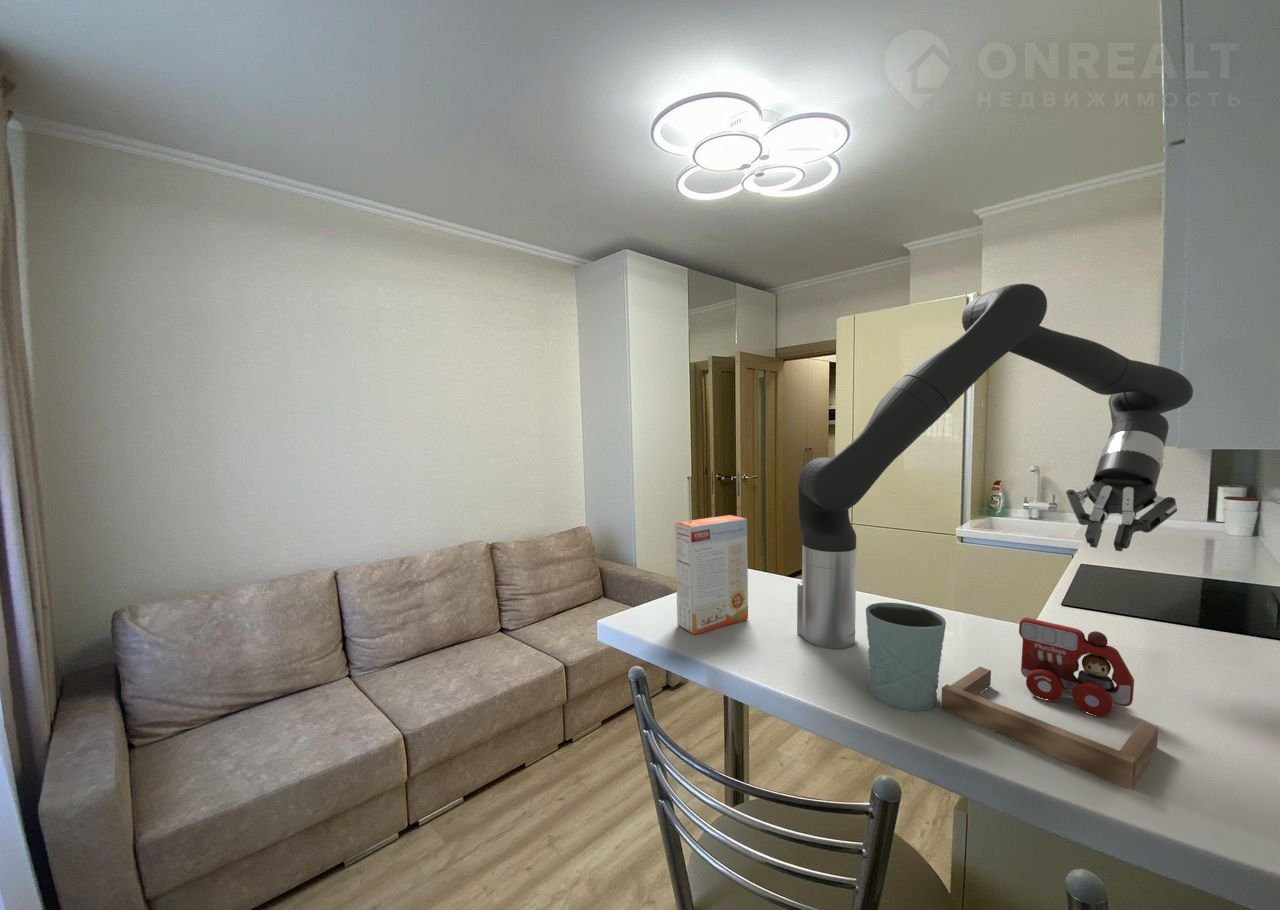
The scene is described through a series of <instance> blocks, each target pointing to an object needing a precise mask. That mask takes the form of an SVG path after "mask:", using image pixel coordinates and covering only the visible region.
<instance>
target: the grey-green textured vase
mask: <svg viewBox="0 0 1280 910" xmlns="http://www.w3.org/2000/svg"><path fill="white" fill-rule="evenodd" d="M865 617H866V618H865V619H866V627H867V628H866V629H867V630H866V631H867V633H866V635H867V640H868V646H869V647H868V652H867V653H868V663H869V664H868V666H869V670H868V671H869V689H870V692H871V694H872V695H873V696H874V697H875V698H876V699H877V700H879V701H880V702H881V703H883V704H885V705H887V706H890V707H893V708H896V709H900V710H904V711H909V712H923V711H924V712H925V711H928V710H931V709H933V708H934V707H935V705H936V703H937V697H938V696H937V695H938V692H937V690H938V688H939V687H938V686H939V682H940V681H939V676H940V675H939V672H940V665H941V660H942V659H941V658H942V651H943V643H944V640H945V639H944V638H945V632H946V627H947V626H946V625H947V622H946V619H945V617H944V616H942V615H941V614H939V613H938V612H935V611H933V610H931V609H928V608H925V607H921V606H918V605H913V604H907V603H899V602H876V603H872V604H869V605H868V606H867V607H866V608H865Z"/></svg>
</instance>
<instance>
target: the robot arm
mask: <svg viewBox="0 0 1280 910" xmlns="http://www.w3.org/2000/svg"><path fill="white" fill-rule="evenodd" d="M1047 309H1048V300H1047V296H1046V293H1045V292H1044V290H1042V289H1041V288H1040V287H1039V286H1036V285H1034V284H1030V283H1015V284H1008V285H1006V286H1005V285H1004V286H1003V287H999V288H997V289H994V290H991V291H987V292H986V293H983V294H980V295H979V296H976V297H975V298H973V299H972V300H970V301H969V302H968V303H967V305H966V306H965V307H964V309H963V312H962V315H961V323H962V327H963V330H964V331H965V332H964V333H963V334H962V335H961V336H959V337H958V338H957V339H955V340H954V341H952V342H951V343H950V344H948V345H947V346H945V347H943V348H942V349H940V350H939V351H937V352H935V353H934V354H931V356H929V357H927V358H925V359H924V360H923V361H922V362H920V363H918V364H917V365H915V366H914V367H913V368H911V370H909V371H908V372H907V373H905V374H904V375H903V377H901V379H899V380H898V381H897V382H896V383H895V384H894V385H893V386H892V387H891V388H890V389H889V390H888V391H887V392H886V394H885V395H884V396H883V397H882V398H881V400H880V401H879V403H878V404H877V406H876V408H875V409H874V412H873V413H872V415H871V416H870V419H869V420H868V422H867V424H866V426H865V427H864V428H863V430H862V431H861V432H860V434H859V435H858V436H857V437H855V439H854V440H852V442H851V443H849V444H848V445H847V446H845V448H844V449H842V450H841V451H840V452H839V453H837V454H835V456H834V457H824V456H823V457H818V458H814V459H812V460H809V461H808V462H807V463H806V464H805V465H804V466H803V468H802V470H801V471H800V474H799V478H798V489H797V490H798V491H797V492H798V493H797V494H798V499H797V500H798V521H799V522H798V523H799V529H800V532H801V536H802V537H801V538H802V539H801V540H802V547H801V549H802V550H801V551H802V553H801V554H802V555H801V557H802V559H801V561H802V562H801V563H802V565H801V568H802V569H801V570H802V571H801V582H799V583H797V589H796V591H797V595H796V596H797V599H796V604H797V605H796V607H797V608H796V609H797V611H796V616H797V617H796V619H797V621H796V623H797V624H796V633H797V635H798V634H799V635H800V636H801V637H802V638H803V639H804V640H805V641H806V642H809V644H812V645H814V646H819V647H822V648H830V649H844V648H848V647H852V646H853V645H854V644H855V642H856V610H857V609H856V608H857V607H856V606H857V605H856V601H857V599H856V598H857V597H856V595H857V594H856V593H857V589H856V588H857V535H856V531H855V529H854V528H853V526H852V523H851V520H850V515H849V512H850V511H849V509H851V508H853V507H854V506H855V505H857V504H858V503H859V502H860V501H861V500H862V498H864V496H866V494H867V492H868V491H869V490H870V489H871V488H872V486H873V485H874V484H875V483H876V481H877V480H878V479H879V478H880V477H881V475H882V474H883V473H884V472H885V471H886V470H887V468H888V467H890V465H891V464H892V463H893V462H894V461H895V460H896V459H897V458H899V456H900V455H902V453H904V451H906V450H907V449H908V448H909V447H910V446H911V445H912V444H914V442H916V440H918V438H919V437H920V436H921V435H922V434H924V433H925V432H926V431H927V430H928V429H929V428H930V427H931V426H932V425H933V424H934V423H936V422H937V421H938V420H939V419H940V418H941V417H942V416H944V414H945V413H946V412H947V411H948V410H949V409H950V408H951V407H952V406H953V405H954V403H955V402H956V401H958V399H959V398H960V397H962V395H964V394H965V392H967V391H968V390H969V388H971V387H972V386H973V385H974V384H975V383H976V382H977V381H978V380H979V379H980V378H981V376H983V375H984V374H985V373H986V372H987V371H988V370H989V369H990V368H991V367H992V366H993V365H994V364H995V363H997V362H998V361H999V360H1000V359H1001V358H1003V357H1004V356H1005V355H1006V354H1007V353H1011V354H1015V355H1016V356H1020V357H1022V358H1025V359H1027V360H1029V361H1033V362H1035V364H1036V363H1037V364H1039V365H1042V366H1043V367H1046V368H1048V369H1050V370H1053V371H1054V372H1056V373H1058V374H1061V375H1062V376H1064V377H1067V378H1068V379H1070V380H1072V381H1074V382H1076V383H1077V384H1079V385H1080V386H1083V387H1084V388H1086V389H1088V390H1091V391H1092V392H1094V393H1096V394H1099V395H1103V396H1109V398H1108V406H1109V411H1110V418H1111V425H1112V427H1111V429H1110V432H1109V436H1108V438H1107V441H1106V443H1105V444H1104V446H1103V448H1102V451H1101V454H1100V457H1099V460H1098V464H1097V466H1096V470H1095V473H1094V475H1093V479H1092V482H1091V483H1090V484H1089V485H1088V486H1087V487H1086V488H1085V489H1084V490H1079V491H1075V490H1074V489H1068V490H1067V491H1066V492H1065V493H1066V496H1067V498H1068V499H1067V500H1068V503H1069V505H1070V507H1071V508H1072V510H1073V512H1074V515H1075V517H1076V519H1077V521H1078V523H1079V525H1083V526H1087V527H1086V531H1085V532H1084V533H1085V534H1084V537H1085V539H1086V544H1089V547H1091V548H1095V549H1097V548H1098V546H1099V543H1100V539H1101V536H1102V532H1103V530H1102V529H1103V526H1104V525H1105V522H1106V521H1107V520H1108V519H1109V517H1110V515H1112V514H1119V515H1121V516H1122V517H1121V524H1118V526H1117V531H1116V534H1115V537H1114V542H1113V546H1114V549H1115V551H1117V552H1123V550H1124V549H1126V550H1127V549H1128V548H1129V547H1130V545H1131V542H1132V538H1133V534H1134V533H1136V532H1142V533H1147V534H1148V533H1151V532H1152V531H1154V529H1157V527H1159V526H1160V525H1162V523H1164V522H1165V521H1166V520H1168V519H1169V518H1170V517H1172V516H1173V515H1174V514H1175V513H1177V512H1178V508H1177V502H1176V498H1174V497H1172V496H1167V497H1162V496H1159V495H1158V492H1157V490H1156V489H1157V484H1158V480H1159V477H1160V473H1161V470H1162V468H1163V465H1164V463H1163V461H1164V457H1165V456H1164V455H1165V451H1164V449H1165V445H1166V441H1167V437H1168V433H1169V427H1170V425H1169V421H1168V419H1167V418H1166V417H1165V416H1164V415H1162V414H1164V413H1167V412H1170V411H1172V410H1173V411H1174V410H1176V409H1178V408H1181V407H1183V406H1186V405H1187V404H1188V403H1189V402H1190V401H1191V400H1192V399H1193V395H1194V389H1193V386H1192V384H1191V382H1190V381H1189V380H1188V378H1187V377H1186V376H1184V375H1183V374H1181V373H1179V372H1178V371H1176V370H1173V369H1171V368H1168V367H1164V366H1160V365H1156V364H1153V363H1147V362H1143V361H1138V360H1133V359H1129V358H1127V357H1126V356H1124V355H1122V354H1120V353H1119V352H1117V351H1114V350H1113V349H1111V348H1110V347H1107V346H1105V345H1103V344H1102V343H1098V342H1097V341H1094V340H1091V339H1086V338H1083V337H1079V336H1076V335H1072V334H1068V333H1064V332H1060V331H1056V330H1053V329H1049V328H1047V327H1044V326H1041V324H1042V322H1043V320H1044V318H1045V316H1046V314H1047ZM1087 499H1089V500H1090V501H1091V502H1092V503H1093V509H1092V511H1091V512H1090V514H1089V513H1086V511H1085V508H1084V504H1086V500H1087ZM1151 505H1153V506H1152V508H1151V509H1149V510H1148V511H1147V512H1145V513H1144V514H1143V515H1141V516H1140V517H1139V518H1137V515H1138V514H1137V513H1140V512H1141V511H1143V510H1145V509H1147V508H1148V507H1149V506H1151Z"/></svg>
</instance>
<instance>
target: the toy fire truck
mask: <svg viewBox="0 0 1280 910" xmlns="http://www.w3.org/2000/svg"><path fill="white" fill-rule="evenodd" d="M1018 634H1019V636H1020V637H1021V639H1022V645H1021V663H1020V665H1021V666H1020V671H1021V674H1022V676H1023V677H1025V678H1026V679H1025V684H1026V687H1027V689H1028V691H1029V692H1030V693H1031V694H1032V695H1033V696H1034V695H1035V696H1034V697H1036V696H1038V697H1040V698H1043V699H1048V700H1051V701H1050V702H1055V701H1057V700H1059V699H1060V698H1061V697H1062V695H1063V693H1064V690H1067V691H1070V692H1072V693H1071V694H1072V701H1073V702H1074V704H1075V705H1076V707H1077V708H1078V709H1080V710H1081V711H1082V712H1083V711H1085V712H1088V713H1090V714H1093V715H1096V716H1095V717H1105V716H1108V715H1109V714H1111V712H1112V710H1113V706H1114V705H1118V706H1122V707H1129V706H1131V705H1132V704H1133V701H1134V687H1135V678H1134V677H1133V675H1132V674H1131V671H1130V670H1129V668H1128V666H1127V664H1126V663H1125V660H1124V659H1123V657H1122V655H1121V654H1120V652H1119V651H1118V649H1116V648H1115V647H1114V646H1112V645H1111V646H1110V645H1108V638H1107V635H1106V634H1104V633H1102V632H1101V631H1095V630H1094V631H1091V632H1089V633H1088V635H1087V638H1086V635H1085V633H1084V632H1083V631H1082V630H1081V629H1078V628H1074V627H1071V626H1066V625H1061V624H1057V623H1052V622H1048V621H1043V620H1039V619H1035V618H1031V617H1023V618H1022V619H1020V621H1019V625H1018ZM1081 657H1082V659H1081V666H1082V668H1083V669H1082V670H1079V669H1080V664H1079V660H1080V658H1081ZM1111 669H1113V671H1112V675H1111V677H1110V676H1109V674H1110V673H1111ZM1075 672H1078V676H1077V677H1076V675H1075ZM1085 712H1084V713H1085ZM1090 714H1089V715H1090ZM1093 715H1092V716H1093Z"/></svg>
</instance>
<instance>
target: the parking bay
mask: <svg viewBox="0 0 1280 910" xmlns="http://www.w3.org/2000/svg"><path fill="white" fill-rule="evenodd" d="M991 680H992V670H991V669H989V668H986V667H983V666H978V667H977V668H975V669H973V670H972V671H970V672H969V673H967V674H966V675H964V676H963V677H960V678H959V679H958V680H957V681H955V682H952V684H945V685H944V686H942V687H941V710H943V711H946V712H948V713H951V714H953V715H956V716H958V717H960V718H963V719H964V718H965V719H964V720H967V721H970V722H971V721H972V723H974V724H976V723H977V724H976V725H978V724H979V726H981V727H983V726H984V727H983V728H985V727H986V728H985V729H988V730H990V729H991V731H992V730H994V731H993V732H995V733H997V732H998V733H997V734H999V733H1000V735H1002V734H1003V735H1002V736H1004V737H1007V738H1009V737H1010V738H1009V739H1011V738H1013V739H1012V740H1014V741H1016V740H1017V741H1016V742H1018V741H1019V742H1018V743H1021V744H1023V745H1025V746H1028V747H1030V748H1033V749H1034V750H1037V751H1038V752H1039V751H1040V752H1041V753H1044V754H1046V755H1049V756H1051V757H1053V758H1056V759H1058V760H1061V761H1062V762H1065V763H1068V764H1070V765H1072V766H1075V767H1076V768H1079V769H1082V770H1083V771H1086V772H1088V773H1091V774H1093V775H1095V776H1098V777H1100V778H1102V779H1105V780H1107V781H1110V782H1111V783H1114V784H1117V785H1119V786H1121V787H1123V788H1126V789H1128V790H1132V789H1133V787H1134V786H1135V784H1136V782H1137V780H1138V779H1139V778H1140V776H1141V774H1142V773H1143V771H1144V769H1145V768H1146V767H1147V765H1148V763H1149V762H1150V760H1151V758H1152V757H1151V756H1153V755H1152V754H1154V753H1155V752H1156V750H1157V748H1158V735H1159V727H1157V726H1155V725H1151V724H1148V723H1146V722H1143V721H1140V722H1139V723H1138V724H1137V726H1136V727H1135V729H1134V730H1133V732H1132V733H1131V734H1130V736H1129V737H1128V738H1127V740H1126V741H1125V742H1124V744H1123V745H1122V747H1121V748H1120V750H1118V749H1116V748H1113V747H1110V746H1108V745H1105V744H1102V743H1100V742H1098V741H1094V740H1092V739H1089V738H1087V737H1084V736H1081V735H1079V734H1076V733H1075V732H1071V731H1069V730H1066V729H1065V728H1061V727H1059V726H1055V725H1053V724H1052V723H1051V724H1050V723H1049V722H1045V721H1043V720H1040V719H1038V718H1035V717H1034V716H1030V715H1028V714H1025V713H1023V712H1020V711H1018V710H1015V709H1012V708H1011V707H1010V708H1009V707H1007V706H1005V705H1002V704H999V703H996V702H994V701H991V700H990V699H987V698H984V697H981V696H980V695H981V694H982V693H983V692H982V691H984V690H985V689H986V688H988V687H989V686H990V685H992V684H991V683H992V682H991ZM990 687H991V686H990ZM990 687H989V688H990ZM989 688H988V689H989ZM985 691H986V690H985ZM985 691H984V692H985ZM981 692H982V693H981ZM980 693H981V694H980ZM979 694H980V695H979ZM977 695H978V696H977ZM1155 749H1156V750H1155ZM1154 751H1155V752H1154ZM1153 752H1154V753H1153ZM1150 757H1151V758H1150ZM1149 759H1150V760H1149ZM1146 764H1147V765H1146ZM1144 767H1145V768H1144Z"/></svg>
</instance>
